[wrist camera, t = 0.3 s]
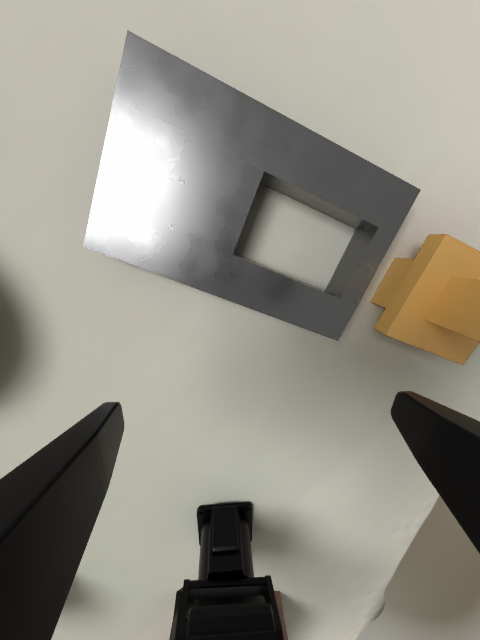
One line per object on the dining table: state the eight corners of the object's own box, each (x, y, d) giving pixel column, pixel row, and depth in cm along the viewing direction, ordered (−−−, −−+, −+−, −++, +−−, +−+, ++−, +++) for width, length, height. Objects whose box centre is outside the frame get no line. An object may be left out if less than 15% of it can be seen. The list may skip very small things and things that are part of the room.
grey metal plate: (323, 328, 23) (337, 340, 20) (103, 245, 19) (83, 246, 16) (391, 197, 20) (420, 189, 17) (144, 67, 16) (127, 30, 13)
